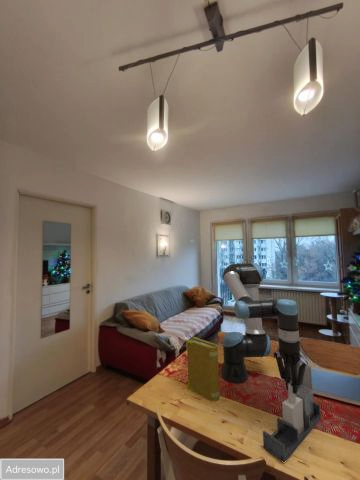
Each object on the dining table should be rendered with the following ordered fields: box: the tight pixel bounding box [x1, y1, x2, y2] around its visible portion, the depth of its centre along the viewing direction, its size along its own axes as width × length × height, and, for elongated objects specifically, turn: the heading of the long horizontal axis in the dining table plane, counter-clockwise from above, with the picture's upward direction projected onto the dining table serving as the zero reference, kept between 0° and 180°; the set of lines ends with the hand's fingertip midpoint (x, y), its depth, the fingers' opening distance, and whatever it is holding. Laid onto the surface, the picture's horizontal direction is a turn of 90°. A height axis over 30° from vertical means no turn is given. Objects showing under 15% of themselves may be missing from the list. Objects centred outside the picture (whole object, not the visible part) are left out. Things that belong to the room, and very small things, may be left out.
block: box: [281, 396, 304, 435], centre depth 85 cm, size 4×8×11 cm, turn 127°
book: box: [185, 336, 220, 402], centre depth 111 cm, size 17×7×25 cm, turn 47°
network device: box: [290, 350, 313, 390], centre depth 109 cm, size 26×9×20 cm, turn 168°
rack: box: [262, 385, 322, 463], centre depth 85 cm, size 8×31×12 cm, turn 127°
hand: (292, 400), depth 85 cm, fingers closed
